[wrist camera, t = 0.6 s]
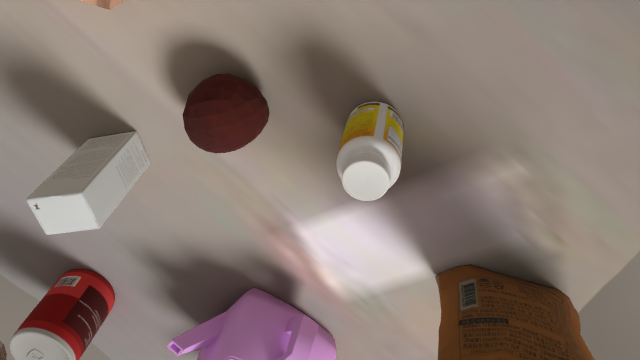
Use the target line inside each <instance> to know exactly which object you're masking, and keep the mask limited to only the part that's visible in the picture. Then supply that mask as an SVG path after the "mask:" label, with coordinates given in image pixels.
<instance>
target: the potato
mask: <svg viewBox="0 0 640 360" xmlns="http://www.w3.org/2000/svg"><path fill="white" fill-rule="evenodd" d="M268 118H269V108H268V105H267V101H266V99H265V98H264V97H263V95H262V94H261V93H260V91H259V90H258V89H257V88H256V87H254V86H253V85H252V84H250V83H249V82H247V81H246V80H245V79H242V78H239V77H236V76H233V75H230V74H216V75H213V76H211V77H209V78H207V79H205V80H203V81H202V82H201V83H200V84H199V85H198V86H197V87H196V88H195V89H194V90H193V91H192V92H191V93H190V94H189V96H188V99H187V103H186V106H185V109H184V113H183V120H184V127H185V131H186V133H187V134H188V136H189V138H190V140H191V141H192V142H193V143H194V144H195V145H196V146H197V147H199V148H201V149H203V150H205V151H208V152H213V153H226V152H231V151H235V150H237V149H240V148H242V147H244V146H245V145H247V144H248V143H250V142H251V141H252V140H254V139H255V138H256V137H257V136H258V135H259V134H260V133H261V131H262V130H263V128H264V127H265V125H266V123H267V122H268Z"/></svg>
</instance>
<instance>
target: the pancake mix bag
mask: <svg viewBox="0 0 640 360" xmlns="http://www.w3.org/2000/svg"><path fill="white" fill-rule="evenodd" d="M435 278H436V281H437V284H438V288H439V294H440V303H441V323H440V327H439V345H438V360H595V359H594V357H593V356H592V354H591V352H590V351H589V349H588V347H587V346H586V344H585V342H584V340H583V338H582V337H581V335H580V316H579V315H578V313H577V312H576V310H575V308H574V307H573V305H572V303H571V301H570V298H569V297H568V296H566V295H565V294H564V293H562V292H561V291H559V290H557V289H554V288H550V287H546V286H543V285H539V284H536V283H532V282H529V281H525V280H522V279H518V278H514V277H510V276H506V275H503V274H499V273H495V272H492V271H489V270H486V269H483V268H480V267H477V266H473V265H465V266H457V267H455V268H452V269H449V270H447V271H444V272H442V273H440V274H438V275H436V276H435Z"/></svg>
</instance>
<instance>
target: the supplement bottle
mask: <svg viewBox="0 0 640 360" xmlns="http://www.w3.org/2000/svg"><path fill="white" fill-rule="evenodd" d="M403 134H404V125H403V121H402V118H401V116H400V115H399V113H398V112H397V111H396V110H395V109H394V108H392V107H391V106H389V105H387V104H385V103H381V102H367V103H364V104H361V105H359V106H358V107H356V108H355V109H354V110H353V111H352V112H351V114H350V115H349V117H348V119H347V122H346V126H345V130H344V133H343V137H342V141H341V144H340V148H339V152H338V156H337V161H336V168H337V172H338V175H339V177H340V179H341V180H342V184H343V187H344V189H345V191H346V192H347V193H348V194H349V195H350V196H352V197H353V198H355V199H358V200H361V201H373V200H376V199H378V198H380V197H382V196H383V195H384V194H385V193H386V191H387V190H388V188H390V187H391V186H392V185H393V184H394V183H395V182H396V180H397V179H398V177H399V174H400V170H401V160H402V148H403Z"/></svg>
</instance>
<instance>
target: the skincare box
mask: <svg viewBox="0 0 640 360" xmlns="http://www.w3.org/2000/svg"><path fill="white" fill-rule="evenodd" d="M149 165H150V161H149V159H148V156H147V154H146V152H145V150H144V148H143V145H142V143H141V141H140V138H139V136H138V134H137V132H136V131H133V132H127V133H121V134H115V135H109V136H103V137H97V138H90V139H88V140H87V141H86V142H85V143H84V144H83V145H82V146H81V147H80V148H78V149H77V150H76V151H75V152H74V153H73V154H72V155H71V156H70V157H69V158H68V159H67V160H66V161H65V162H64V163H63V164H62V165H61V166H60V167H59V168H58V169H57V170H56V171H55V172H54V173H53V174H52V175H51V176H49V178H47V179H46V180H45V181H44V182H43V183H42V184H41V185H40V186H39V187H38V188H37V189H36V190H35V191H34V192H33V193H32V194H31V195H30V196H29V197H28V198H27V199H26V201H27V203H28V205H29V206H30V208H31V210H32V211H33V213H34V215H35V216H36V218H37V220H38V222H39V223H40V225H41V227H42V228H43V230H44V232H45V233H46V234H47V235H51V234H59V233H67V232H75V231H82V230H90V229H99V228H100V227H101V226H102V225H103V223H104V222H105V221H106V219H107V218H108V217H109V216H110V214H111V213H112V212H113V211H114V209H115V208H116V207H117V205H118V204H119V203H120V202H121V200H122V199H123V198H124V197H125V195H126V194H127V193H128V192H129V190H130V189H131V188H132V186H133V185H134V184H135V183H136V181H137V180H138V179H139V178H140V176H141V175H142V174H143V172H144V171H145V170H146V169H147V167H148V166H149Z"/></svg>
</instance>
